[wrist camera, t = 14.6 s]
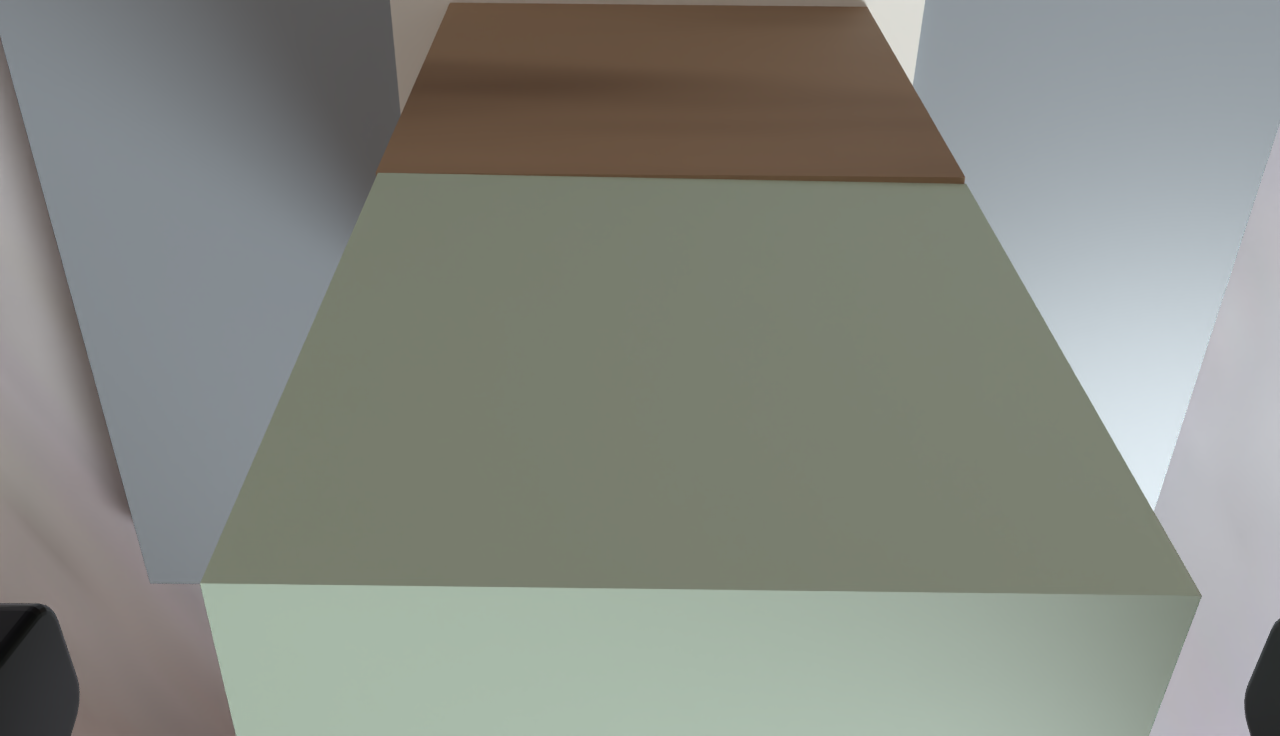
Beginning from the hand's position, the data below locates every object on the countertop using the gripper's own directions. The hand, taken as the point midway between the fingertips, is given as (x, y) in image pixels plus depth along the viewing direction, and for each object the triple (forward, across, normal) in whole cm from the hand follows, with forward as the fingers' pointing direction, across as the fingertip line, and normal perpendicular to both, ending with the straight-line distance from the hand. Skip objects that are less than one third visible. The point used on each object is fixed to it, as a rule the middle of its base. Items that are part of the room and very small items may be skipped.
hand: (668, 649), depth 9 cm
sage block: (+3, 0, 0) cm, 3 cm away
